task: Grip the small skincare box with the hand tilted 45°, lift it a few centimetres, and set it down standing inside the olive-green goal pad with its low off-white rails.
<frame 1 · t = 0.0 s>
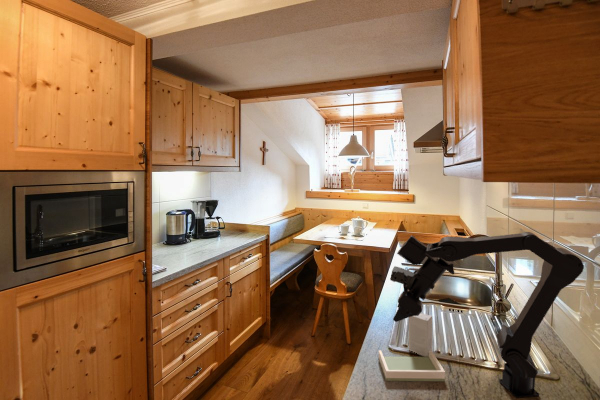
hand: (396, 313, 95), 15 cm above the countertop, tool tilted 35°, fingers open, 9 cm apart
goal pad: (409, 369, 92), on the countertop
skincare box: (420, 352, 101), on the countertop
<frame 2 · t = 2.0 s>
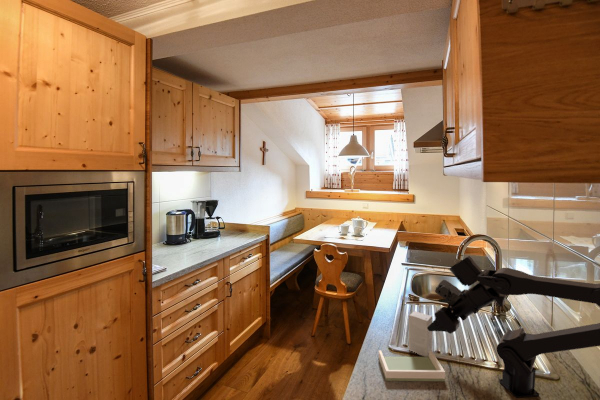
hand: (433, 323, 97), 11 cm above the countertop, tool tilted 45°, fingers open, 9 cm apart
nothing on the countertop moved.
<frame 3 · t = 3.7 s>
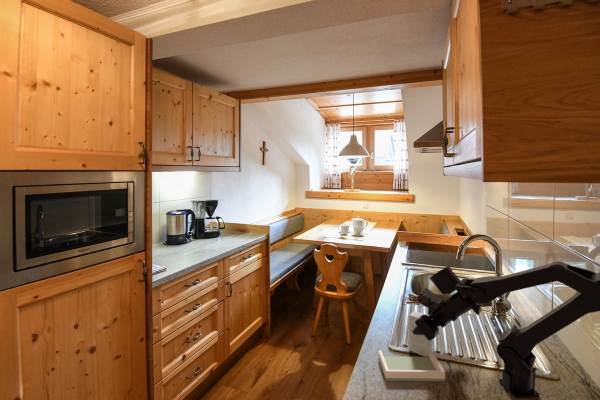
hand: (416, 330, 101), 7 cm above the countertop, tool tilted 45°, fingers closed on skincare box, 4 cm apart
skincare box: (420, 351, 101), on the countertop, touching gripper
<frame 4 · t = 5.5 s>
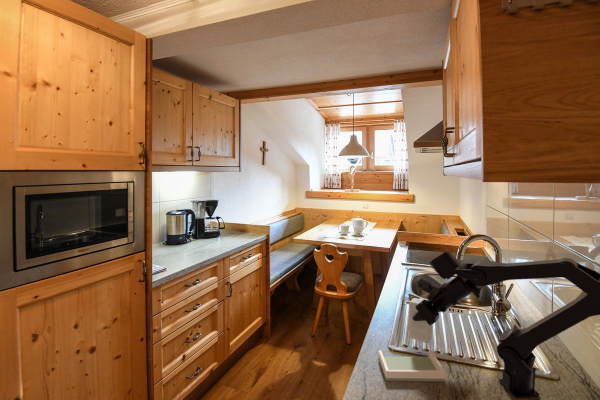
hand: (416, 316, 100), 11 cm above the countertop, tool tilted 45°, fingers closed on skincare box, 4 cm apart
skincare box: (420, 338, 100), point 4 cm above the countertop, touching gripper
when the fingers open (9 cm above the countertop, at t = 7.3 s): skincare box drops 1 cm, resting on goal pad.
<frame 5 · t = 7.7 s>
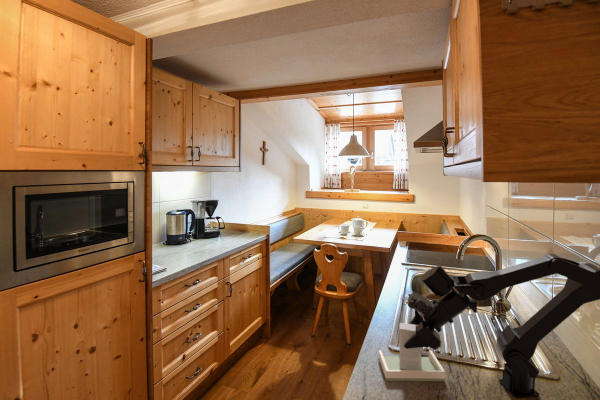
hand: (404, 339, 92), 9 cm above the countertop, tool tilted 45°, fingers open, 8 cm apart
skincare box: (409, 367, 92), point 1 cm above the countertop, touching goal pad
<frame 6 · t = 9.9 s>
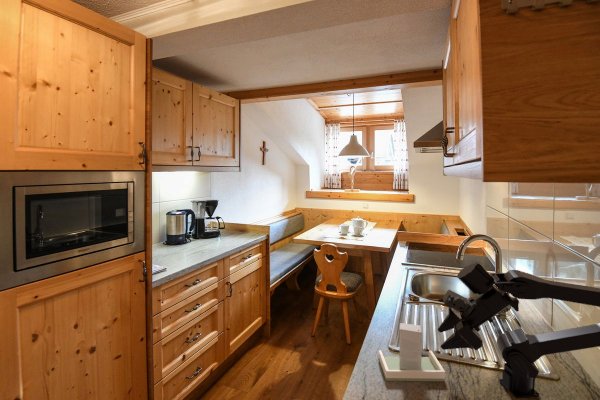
hand: (440, 339, 89), 11 cm above the countertop, tool tilted 45°, fingers open, 9 cm apart
nothing on the countertop moved.
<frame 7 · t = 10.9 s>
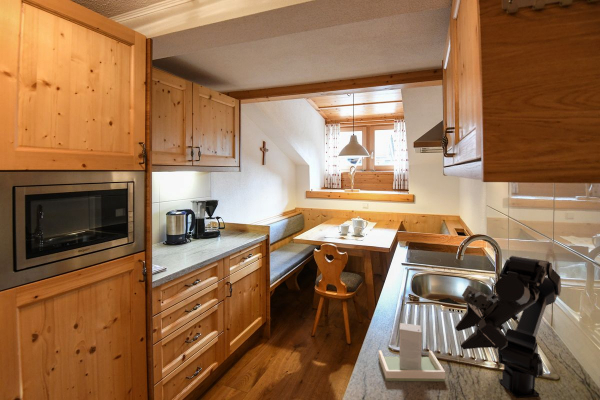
hand: (459, 338, 83), 14 cm above the countertop, tool tilted 45°, fingers open, 9 cm apart
nothing on the countertop moved.
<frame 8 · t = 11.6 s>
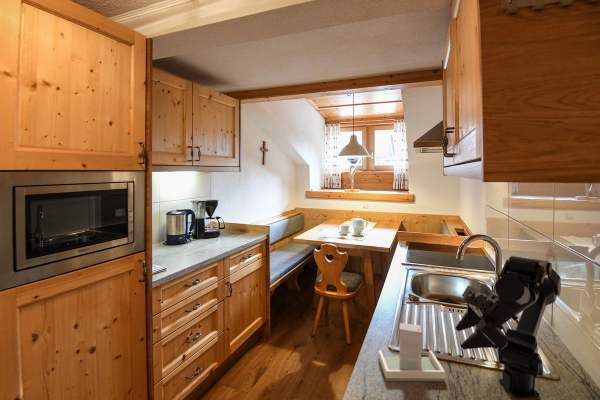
hand: (459, 338, 83), 14 cm above the countertop, tool tilted 45°, fingers open, 9 cm apart
nothing on the countertop moved.
at the end: skincare box inside the target area on the goal pad (0.1 cm from its centre), point 0.6 cm above the goal pad's base; skincare box tilted 0°; the gripper is holding nothing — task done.
